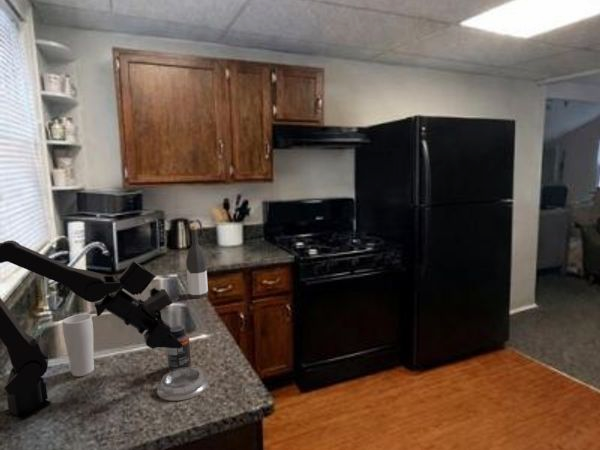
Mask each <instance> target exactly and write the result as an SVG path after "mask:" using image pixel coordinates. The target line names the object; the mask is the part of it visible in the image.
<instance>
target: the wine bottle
mask: <svg viewBox="0 0 600 450" xmlns="http://www.w3.org/2000/svg"><path fill="white" fill-rule="evenodd" d="M190 233H191V246H190V247H189V250H188V252H187V256H186V262H185V263H186V264H185V265H186V275H187V276H186V278H187V292H188V293H187V294H188V297H189V298H190V297H192V298H191V299H201V298H200V297H203V298H205V297H208V295H209V287H208V285H209V284H208V269H207V259H206V255H205V253H204V251H203V248H202V247H201V246H200V244H199V240H198V229H197V225H191V227H190Z"/></svg>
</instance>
